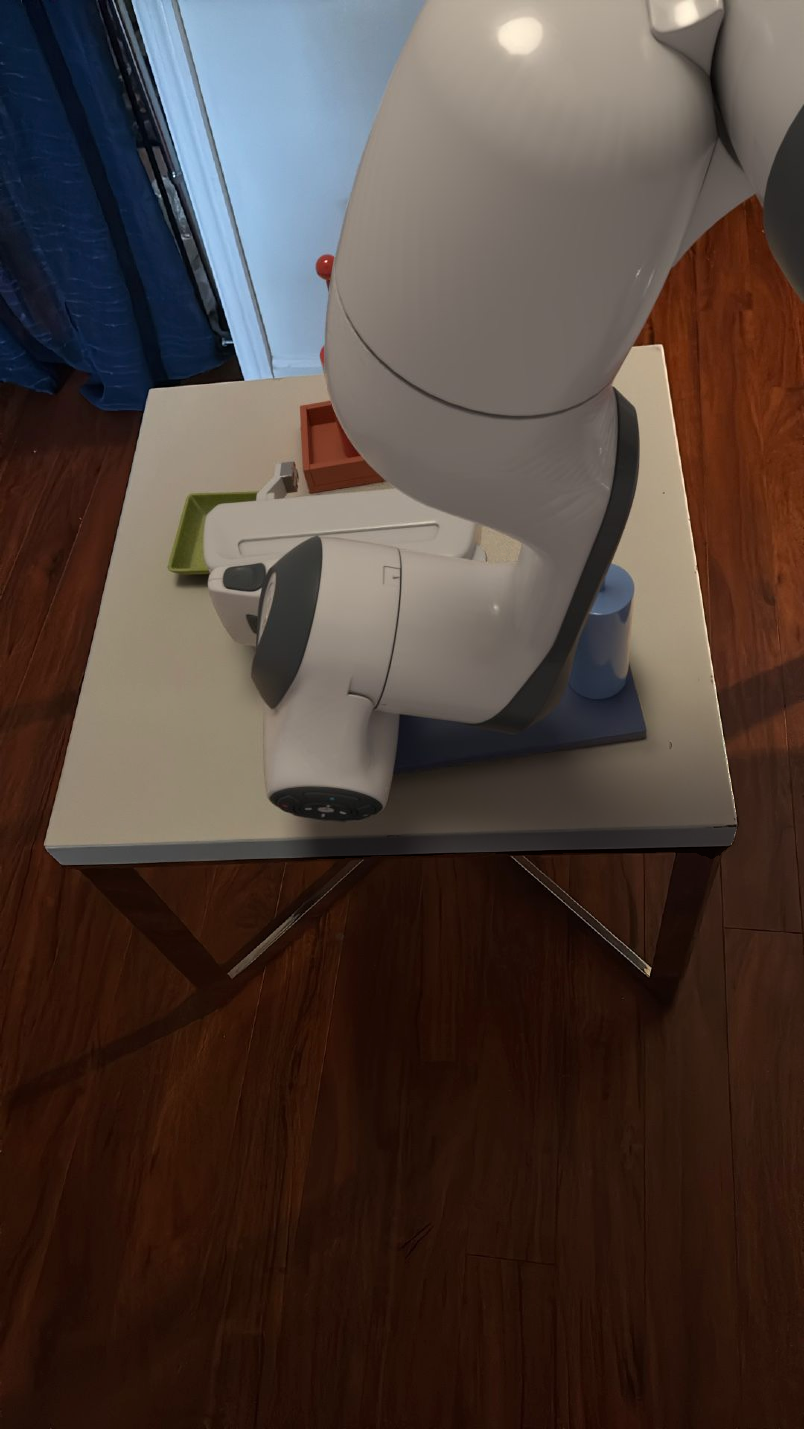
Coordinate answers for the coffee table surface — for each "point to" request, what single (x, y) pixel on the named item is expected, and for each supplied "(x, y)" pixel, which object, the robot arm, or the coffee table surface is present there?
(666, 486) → the coffee table surface
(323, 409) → the red tray
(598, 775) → the coffee table surface
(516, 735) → the navy board
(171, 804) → the coffee table surface
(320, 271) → the red ball-topped plunger
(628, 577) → the blue cylinder with rod
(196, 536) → the green tray
